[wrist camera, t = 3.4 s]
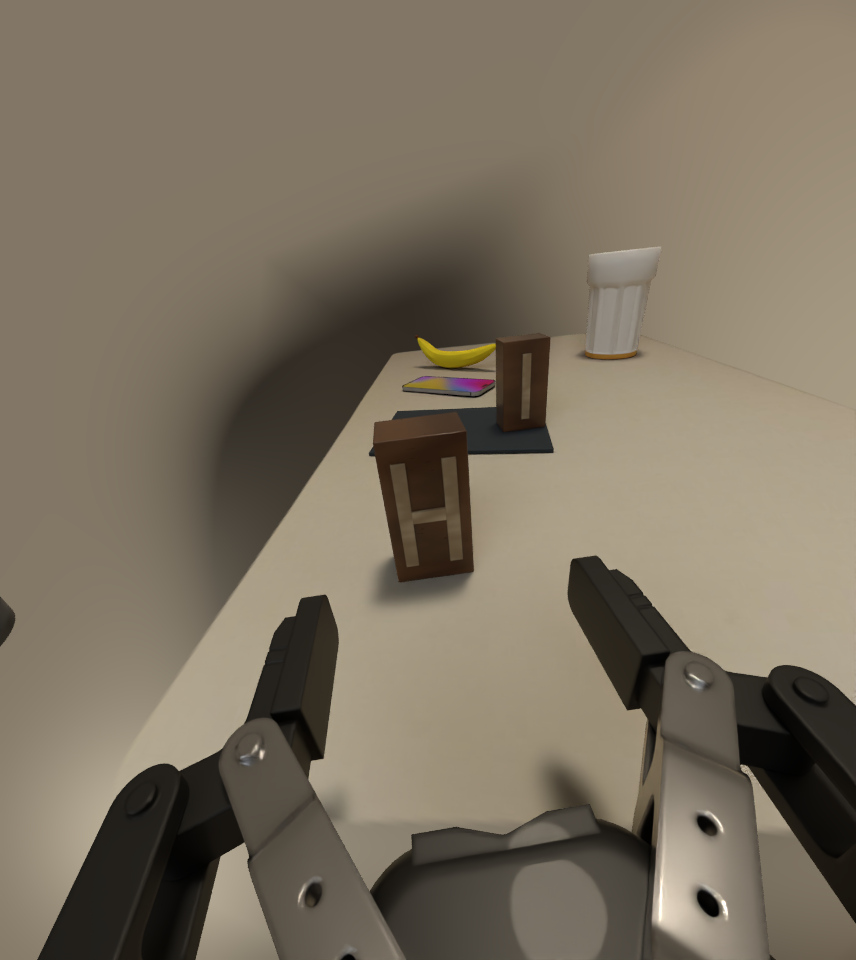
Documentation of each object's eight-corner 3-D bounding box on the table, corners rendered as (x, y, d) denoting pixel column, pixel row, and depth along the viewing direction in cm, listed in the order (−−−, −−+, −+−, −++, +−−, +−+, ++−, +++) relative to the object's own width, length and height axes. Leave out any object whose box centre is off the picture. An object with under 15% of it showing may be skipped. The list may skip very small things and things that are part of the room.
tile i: (503, 433, 43) (504, 342, 38) (496, 423, 46) (495, 338, 41) (546, 427, 43) (551, 337, 38) (535, 417, 46) (539, 332, 41)
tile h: (398, 585, 24) (372, 444, 19) (397, 551, 27) (374, 421, 22) (474, 574, 24) (467, 431, 19) (464, 541, 27) (456, 411, 22)
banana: (495, 373, 69) (494, 337, 66) (414, 367, 79) (411, 336, 76) (502, 369, 71) (502, 334, 68) (422, 364, 81) (419, 334, 78)
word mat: (369, 455, 42) (368, 452, 42) (397, 413, 54) (397, 411, 54) (553, 452, 38) (553, 449, 38) (540, 407, 50) (540, 405, 50)
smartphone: (423, 375, 69) (497, 380, 62) (423, 379, 70) (497, 384, 62) (399, 386, 64) (477, 392, 56) (400, 390, 65) (477, 397, 57)
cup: (570, 352, 78) (578, 255, 70) (624, 346, 78) (638, 248, 69) (593, 363, 68) (606, 252, 60) (655, 356, 68) (677, 244, 60)
